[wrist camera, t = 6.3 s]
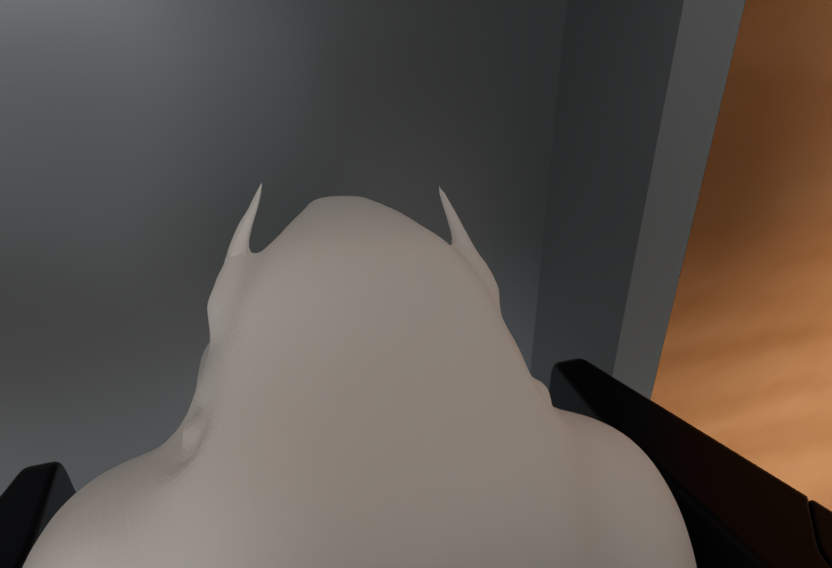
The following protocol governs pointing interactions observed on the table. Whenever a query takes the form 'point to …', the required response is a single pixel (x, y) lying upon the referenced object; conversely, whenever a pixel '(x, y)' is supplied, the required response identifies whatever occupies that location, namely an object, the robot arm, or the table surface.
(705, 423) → the table surface
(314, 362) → the elephant figurine
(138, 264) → the tote
